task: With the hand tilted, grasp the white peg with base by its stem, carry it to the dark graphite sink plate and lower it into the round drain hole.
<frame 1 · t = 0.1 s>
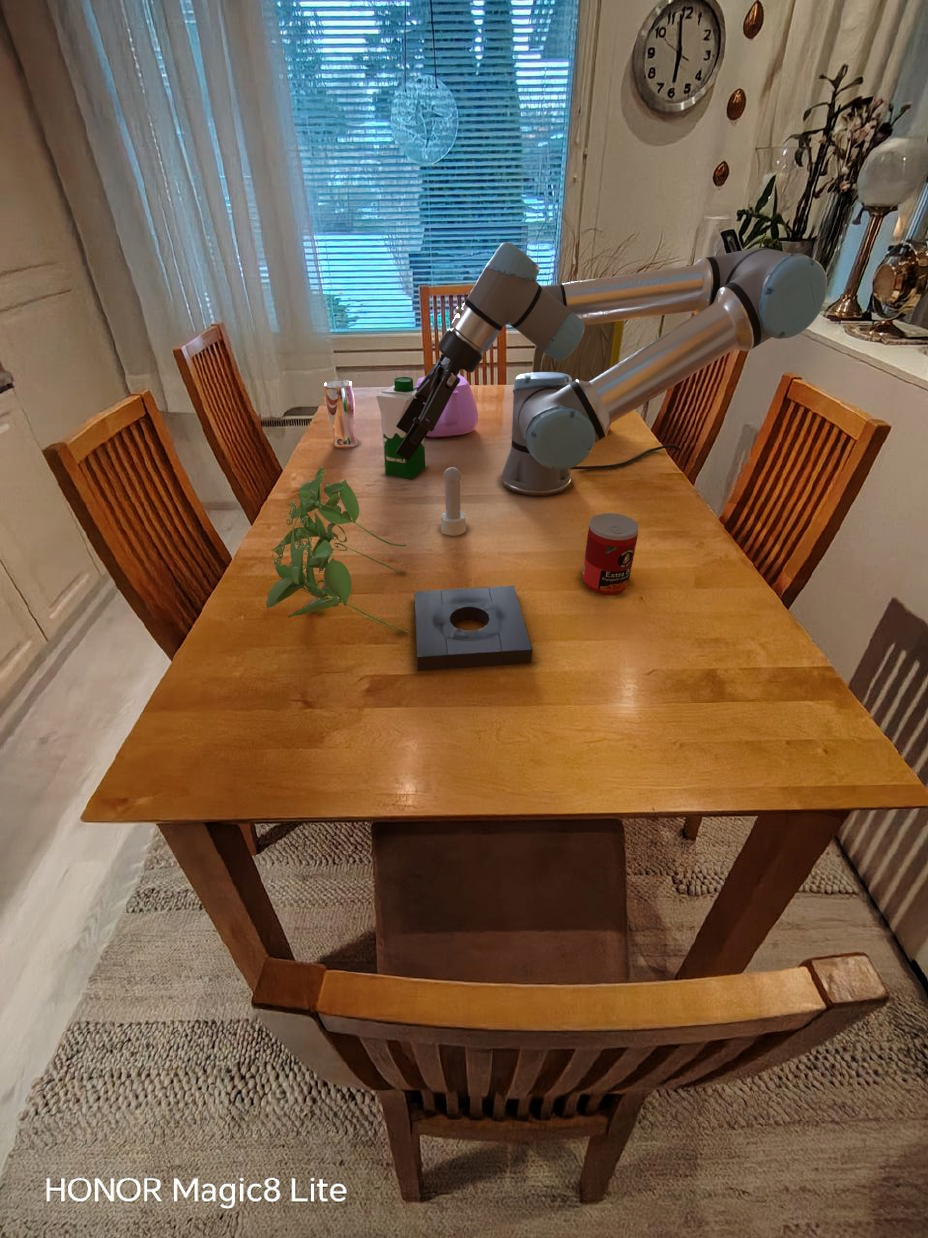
hand: (402, 442, 110), 15 cm above the table, tool tilted 35°, fingers open, 13 cm apart
plant cuttings: (348, 605, 95), on the table
teapot: (445, 431, 158), on the table
milk carton: (405, 472, 137), on the table
white peg with base: (453, 529, 114), on the table
canned food: (604, 583, 99), on the table
sink plate: (469, 631, 89), on the table
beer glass: (346, 444, 151), on the table
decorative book: (568, 430, 158), on the table
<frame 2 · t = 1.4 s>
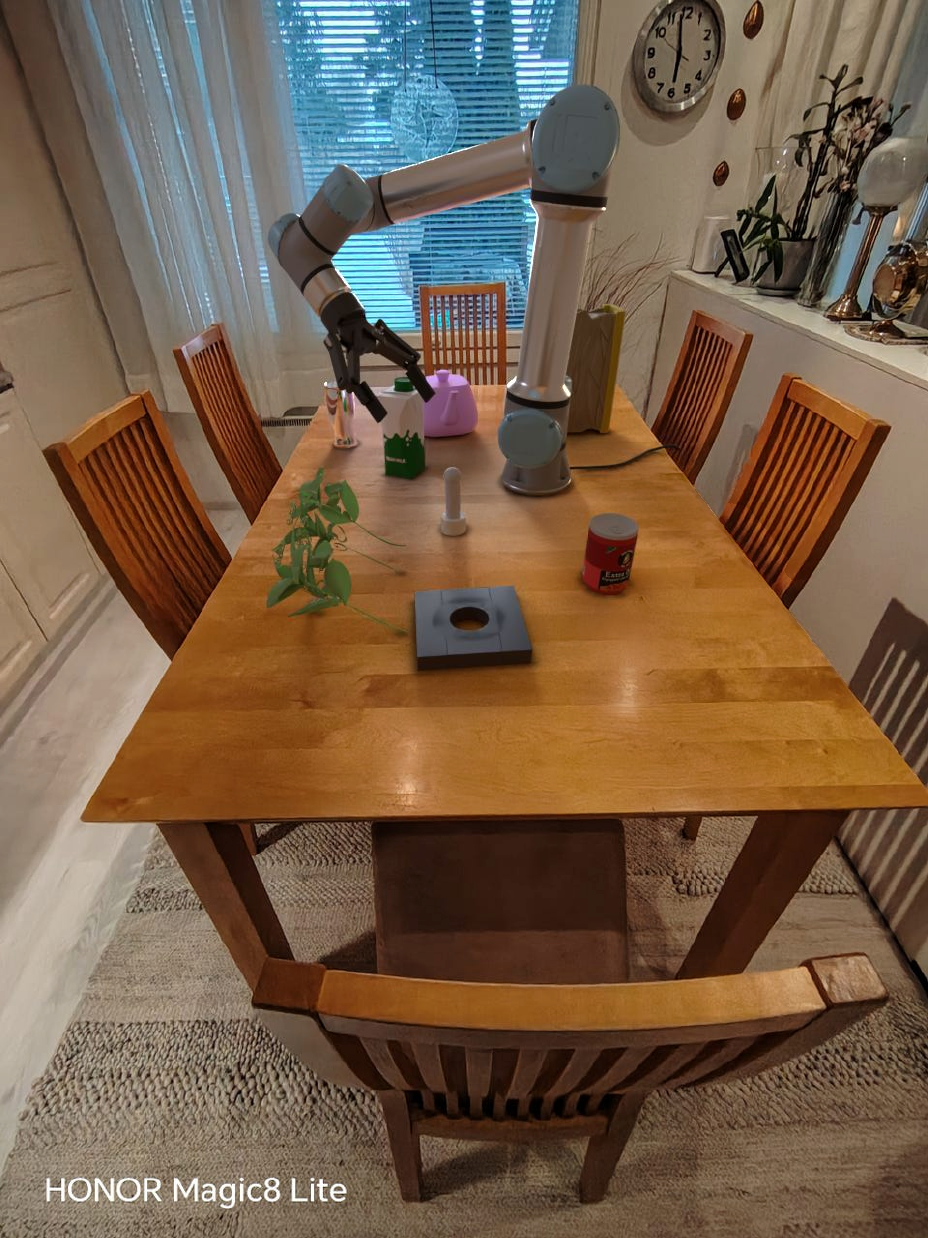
hand: (407, 407, 105), 22 cm above the table, tool tilted 45°, fingers open, 13 cm apart
nothing on the table moved.
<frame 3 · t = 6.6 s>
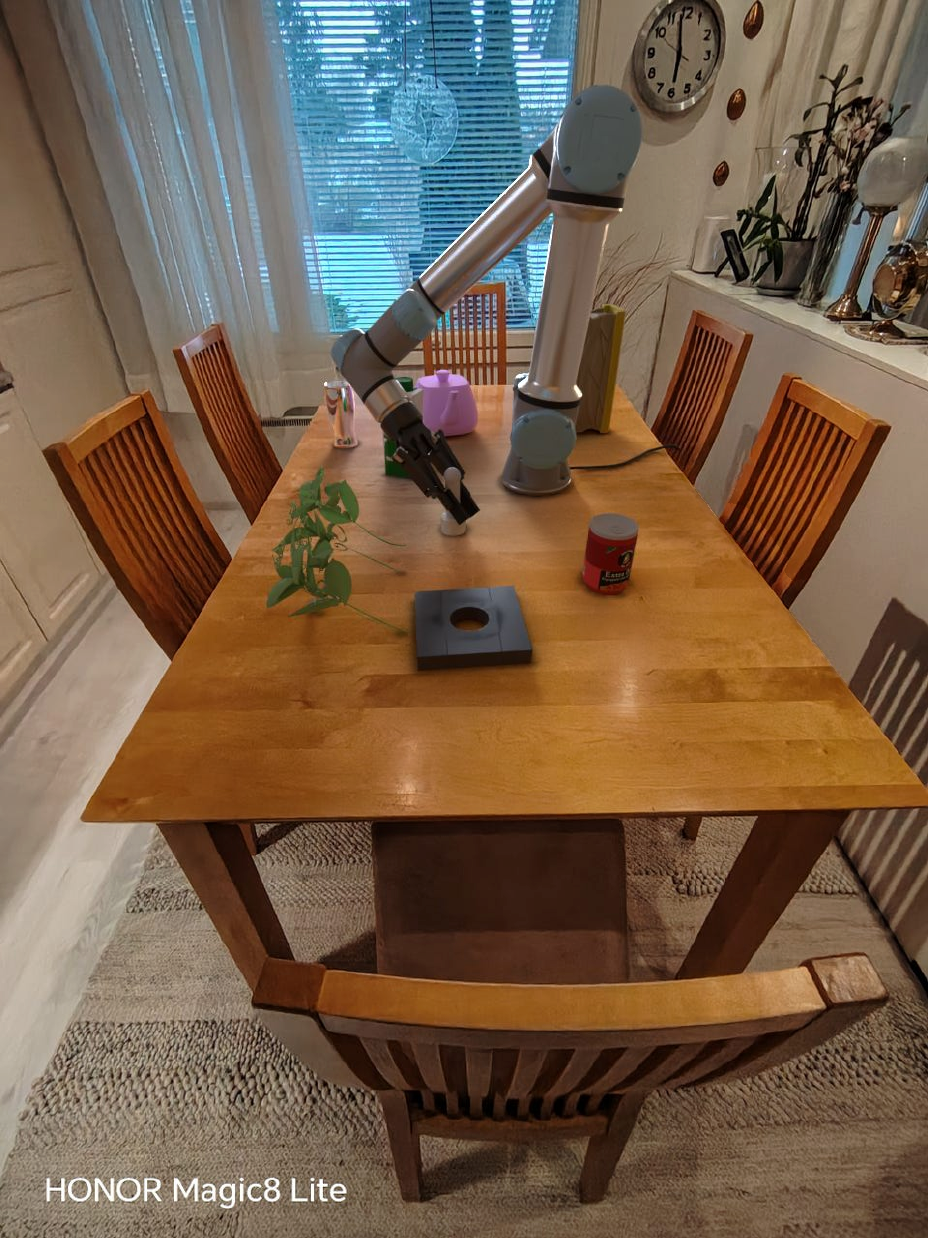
hand: (469, 517, 110), 4 cm above the table, tool tilted 45°, fingers closed on white peg with base, 3 cm apart
white peg with base: (453, 529, 114), on the table, touching gripper
everything else where it was.
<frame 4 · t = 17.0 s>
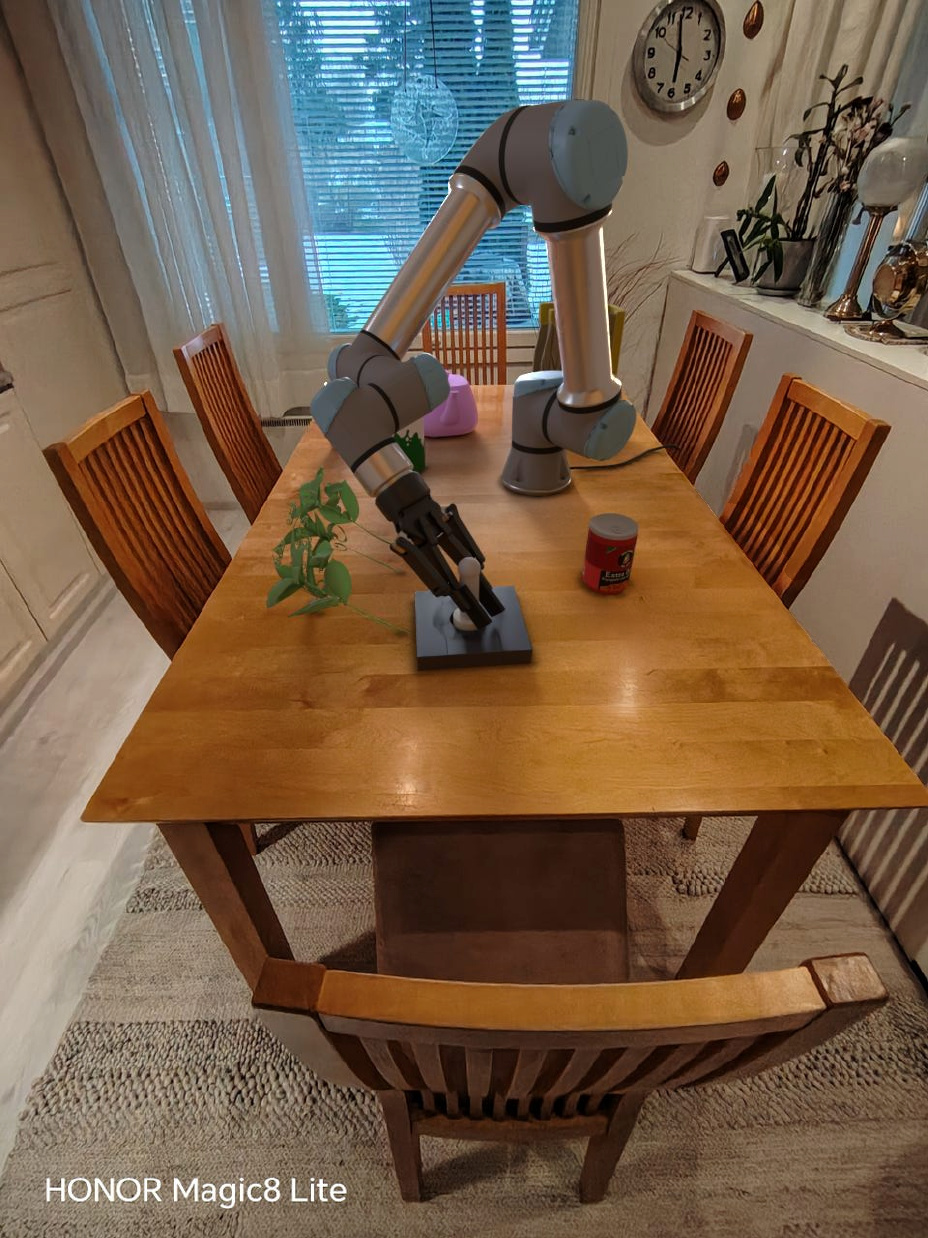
hand: (491, 619, 85), 4 cm above the table, tool tilted 45°, fingers closed on white peg with base, 3 cm apart
white peg with base: (469, 630, 89), resting in sink plate, touching gripper
everything else where it was.
when the fingers open (4 cm above the table, at t = 19.0 s): white peg with base stays where it is, resting in sink plate.
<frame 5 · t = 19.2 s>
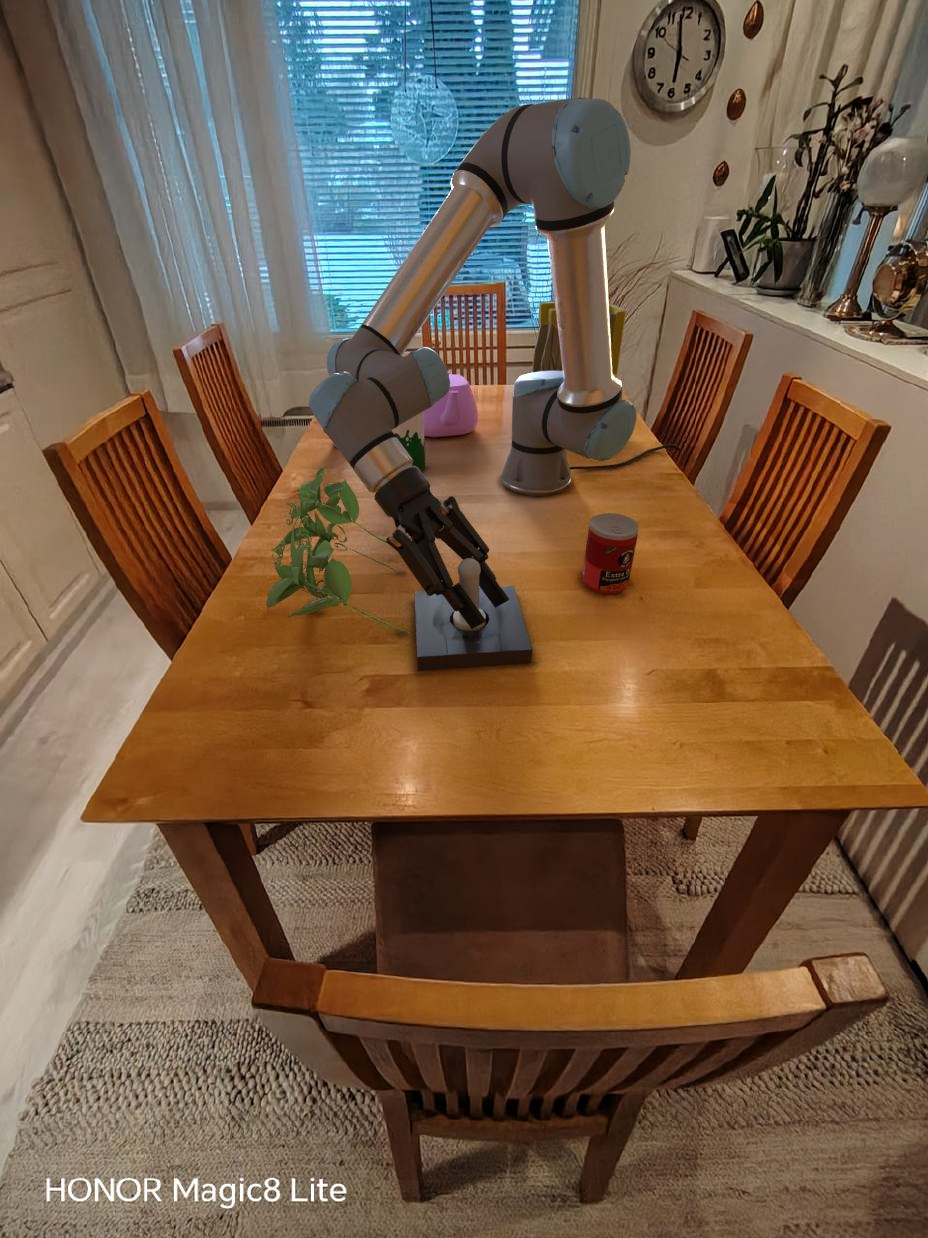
hand: (490, 613, 84), 5 cm above the table, tool tilted 45°, fingers open, 5 cm apart
white peg with base: (469, 631, 89), resting in sink plate
everything else where it was.
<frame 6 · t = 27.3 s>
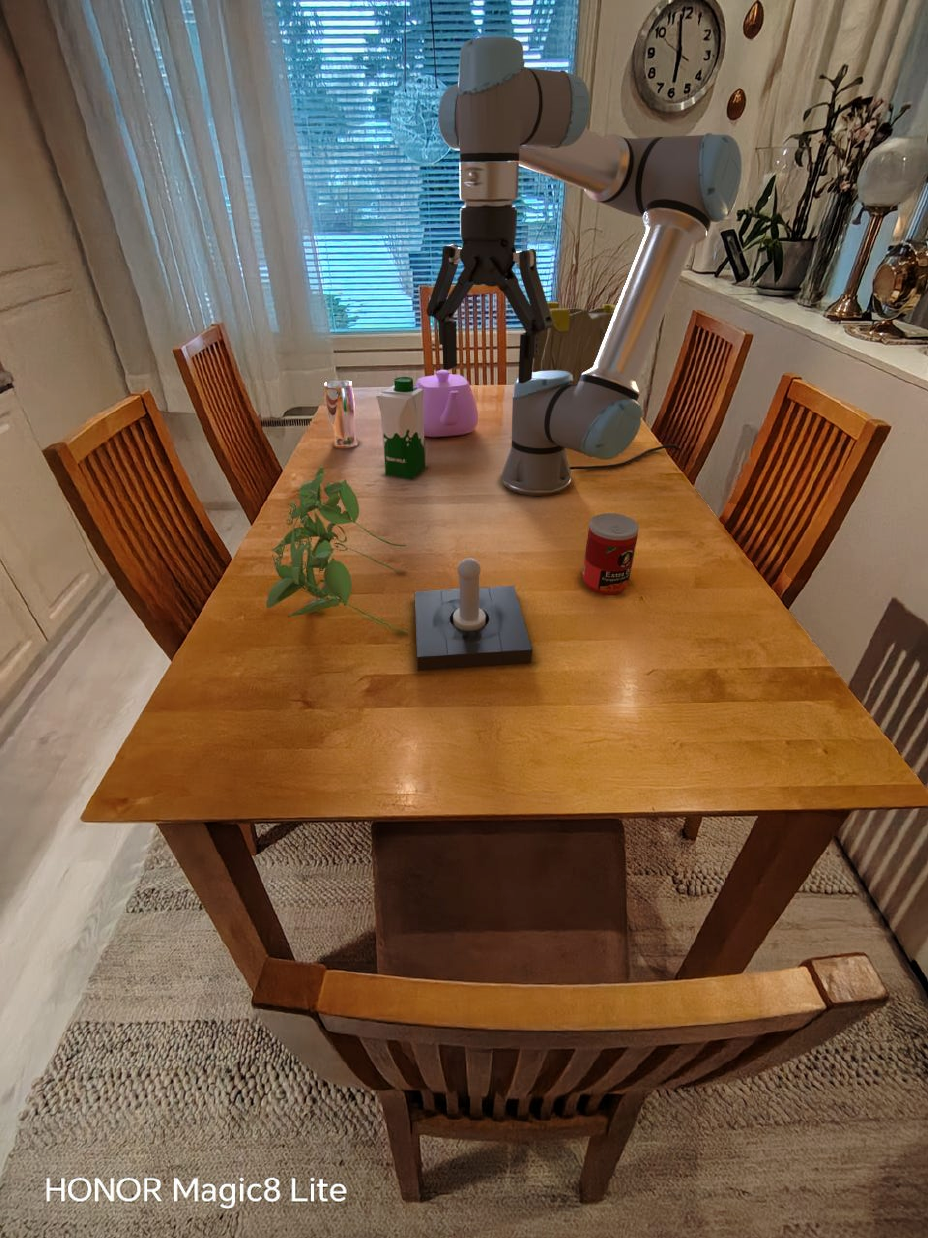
hand: (486, 374, 90), 31 cm above the table, tool pointing down, fingers open, 13 cm apart
nothing on the table moved.
at the end: white peg with base 0.1 cm off-centre in the sink plate, point 0.0 cm above the sink plate's base; white peg with base tilted 0° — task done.
